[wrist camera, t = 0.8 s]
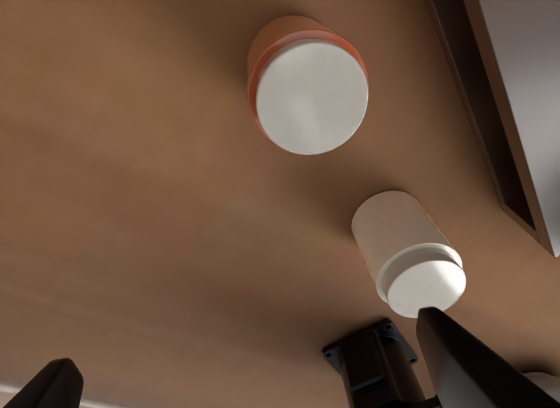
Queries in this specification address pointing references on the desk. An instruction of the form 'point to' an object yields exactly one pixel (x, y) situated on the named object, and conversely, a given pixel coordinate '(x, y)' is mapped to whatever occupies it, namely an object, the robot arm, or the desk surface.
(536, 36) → the shelf
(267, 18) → the desk surface
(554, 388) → the coffee pot
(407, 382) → the robot arm
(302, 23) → the orange lidded jar
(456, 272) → the white lidded jar
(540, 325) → the desk surface
